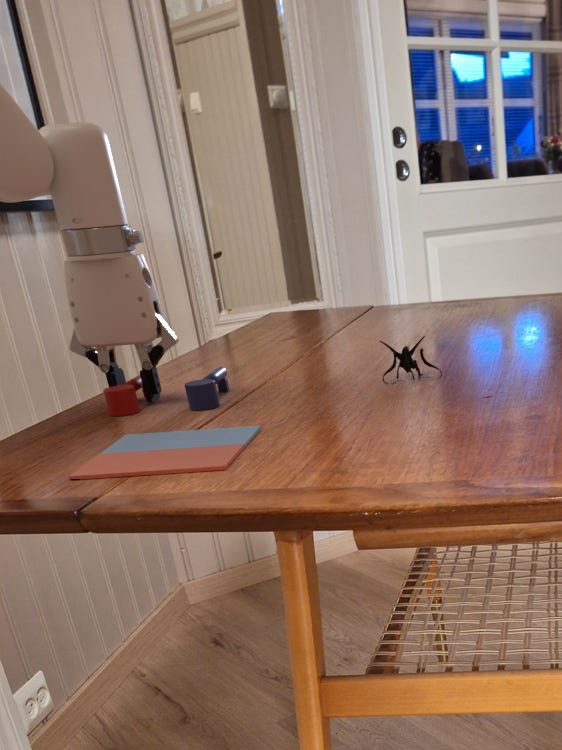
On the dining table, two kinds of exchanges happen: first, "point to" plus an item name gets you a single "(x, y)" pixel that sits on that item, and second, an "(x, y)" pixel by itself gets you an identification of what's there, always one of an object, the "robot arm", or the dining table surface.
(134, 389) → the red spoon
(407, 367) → the creature
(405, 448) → the dining table surface
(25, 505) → the dining table surface
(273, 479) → the dining table surface
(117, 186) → the robot arm
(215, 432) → the mat
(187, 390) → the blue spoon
